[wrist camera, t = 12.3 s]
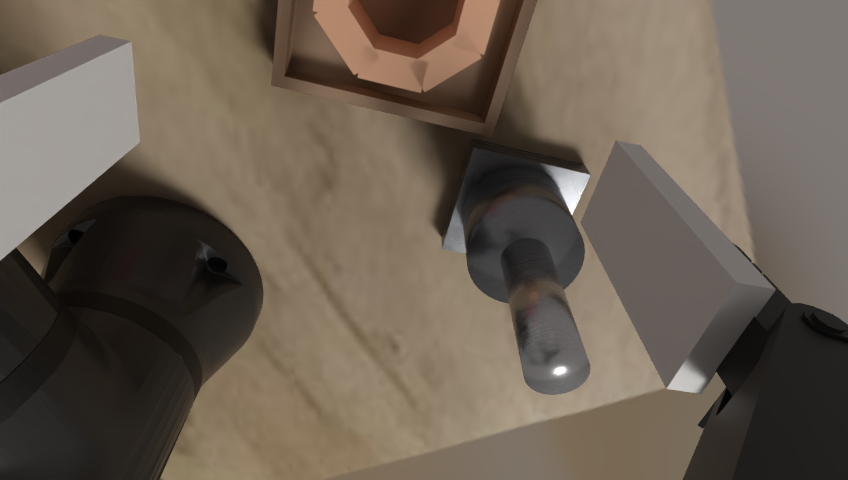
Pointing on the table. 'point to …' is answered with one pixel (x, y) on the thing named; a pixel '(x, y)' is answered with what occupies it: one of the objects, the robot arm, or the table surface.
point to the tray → (414, 22)
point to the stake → (525, 252)
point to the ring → (407, 44)
